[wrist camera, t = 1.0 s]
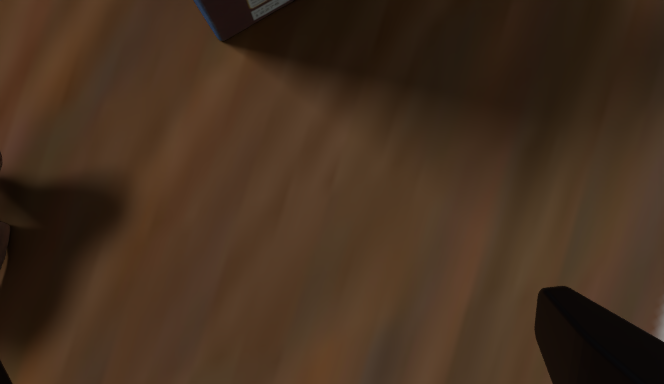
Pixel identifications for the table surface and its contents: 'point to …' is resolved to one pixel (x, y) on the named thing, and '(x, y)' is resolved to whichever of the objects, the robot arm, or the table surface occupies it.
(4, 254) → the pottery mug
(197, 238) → the table surface
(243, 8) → the protein box
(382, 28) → the table surface
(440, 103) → the table surface
